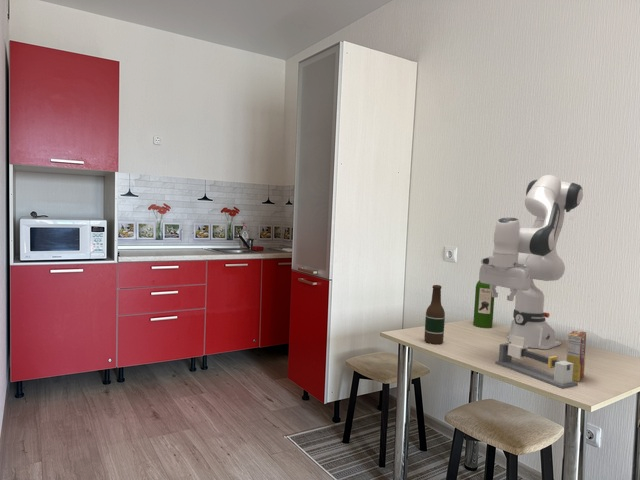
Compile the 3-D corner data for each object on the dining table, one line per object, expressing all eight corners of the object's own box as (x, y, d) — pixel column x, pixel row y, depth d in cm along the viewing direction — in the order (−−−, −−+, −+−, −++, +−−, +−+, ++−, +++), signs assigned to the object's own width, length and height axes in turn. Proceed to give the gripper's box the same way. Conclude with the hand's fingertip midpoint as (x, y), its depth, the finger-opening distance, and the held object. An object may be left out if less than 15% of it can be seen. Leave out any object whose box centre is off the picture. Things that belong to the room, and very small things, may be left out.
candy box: (570, 372, 161) (573, 329, 160) (584, 375, 158) (587, 332, 157) (564, 378, 154) (567, 334, 153) (578, 382, 151) (582, 336, 150)
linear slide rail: (509, 360, 171) (511, 340, 171) (577, 385, 148) (579, 361, 148) (495, 363, 167) (496, 342, 167) (562, 388, 144) (564, 364, 144)
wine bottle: (474, 327, 223) (479, 260, 221) (471, 323, 232) (476, 259, 230) (494, 328, 221) (498, 261, 219) (490, 324, 230) (494, 260, 228)
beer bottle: (443, 345, 188) (447, 287, 187) (424, 343, 189) (427, 285, 188) (442, 340, 195) (446, 284, 194) (423, 338, 197) (427, 283, 196)
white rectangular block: (515, 353, 167) (516, 334, 166) (527, 357, 162) (528, 338, 162) (507, 354, 165) (508, 335, 164) (519, 358, 161) (521, 339, 160)
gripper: (535, 265, 161) (532, 303, 162) (489, 258, 179) (486, 293, 180) (523, 265, 158) (521, 304, 159) (477, 258, 176) (475, 294, 177)
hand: (502, 298), depth 170 cm, fingers open, 5 cm apart
